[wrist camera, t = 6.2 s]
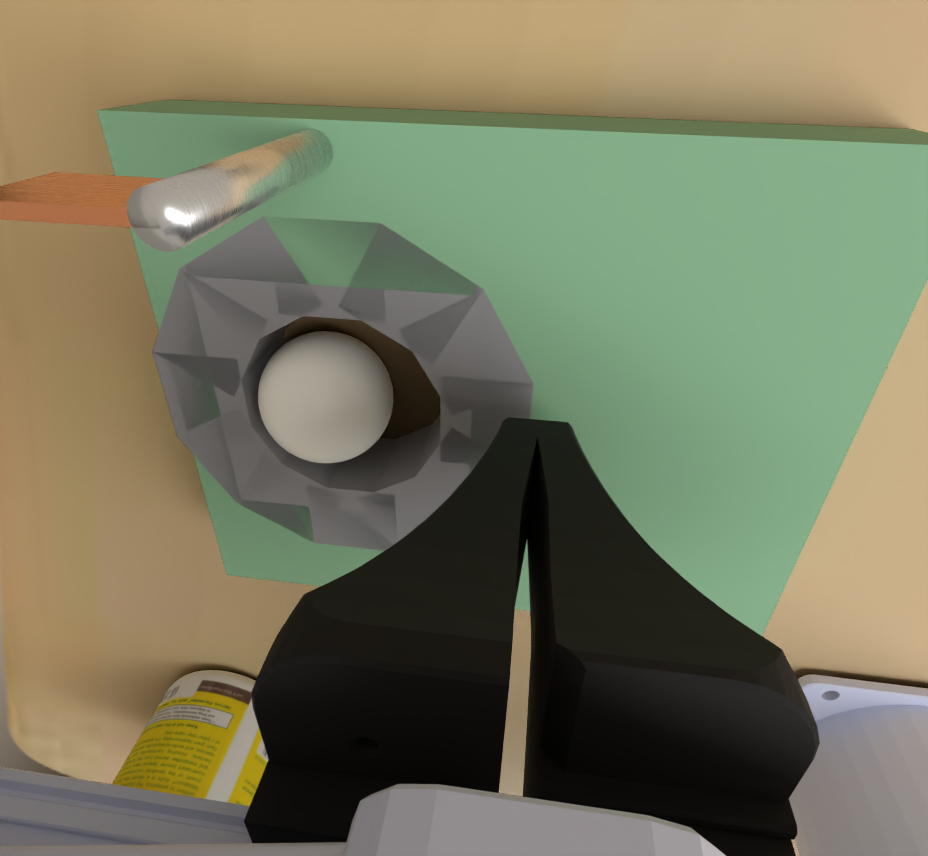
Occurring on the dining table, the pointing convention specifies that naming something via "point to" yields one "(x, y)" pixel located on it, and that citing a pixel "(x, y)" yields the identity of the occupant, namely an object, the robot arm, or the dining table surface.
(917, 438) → the dining table surface
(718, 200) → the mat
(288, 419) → the ball
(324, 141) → the flag pin
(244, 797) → the supplement bottle
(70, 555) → the dining table surface
